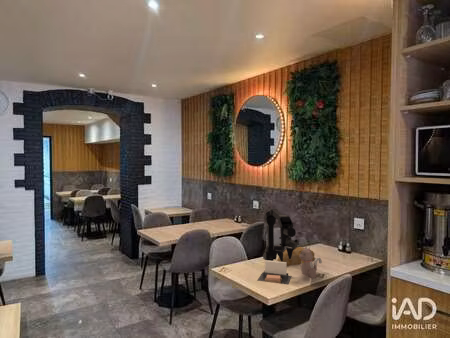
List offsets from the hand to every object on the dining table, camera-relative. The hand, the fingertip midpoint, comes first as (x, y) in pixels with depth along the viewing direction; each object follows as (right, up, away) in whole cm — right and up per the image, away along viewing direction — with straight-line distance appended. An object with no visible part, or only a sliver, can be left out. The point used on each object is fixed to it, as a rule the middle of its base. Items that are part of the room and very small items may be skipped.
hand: (286, 260), depth 201 cm
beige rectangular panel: (-6, -13, +7) cm, 16 cm away
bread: (+16, -14, +42) cm, 47 cm away
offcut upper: (-8, -12, -1) cm, 14 cm away
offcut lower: (-8, -13, -1) cm, 15 cm away
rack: (-7, -14, +4) cm, 16 cm away
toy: (+20, -14, +13) cm, 27 cm away
